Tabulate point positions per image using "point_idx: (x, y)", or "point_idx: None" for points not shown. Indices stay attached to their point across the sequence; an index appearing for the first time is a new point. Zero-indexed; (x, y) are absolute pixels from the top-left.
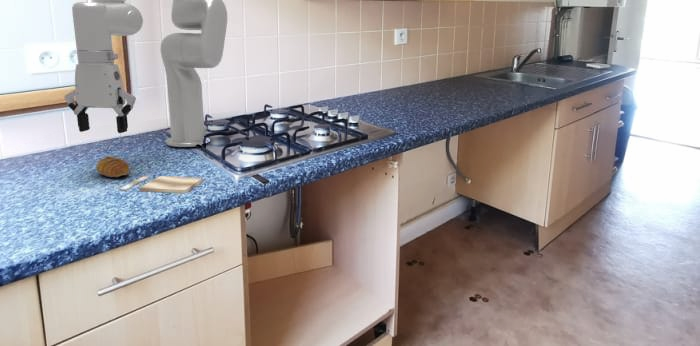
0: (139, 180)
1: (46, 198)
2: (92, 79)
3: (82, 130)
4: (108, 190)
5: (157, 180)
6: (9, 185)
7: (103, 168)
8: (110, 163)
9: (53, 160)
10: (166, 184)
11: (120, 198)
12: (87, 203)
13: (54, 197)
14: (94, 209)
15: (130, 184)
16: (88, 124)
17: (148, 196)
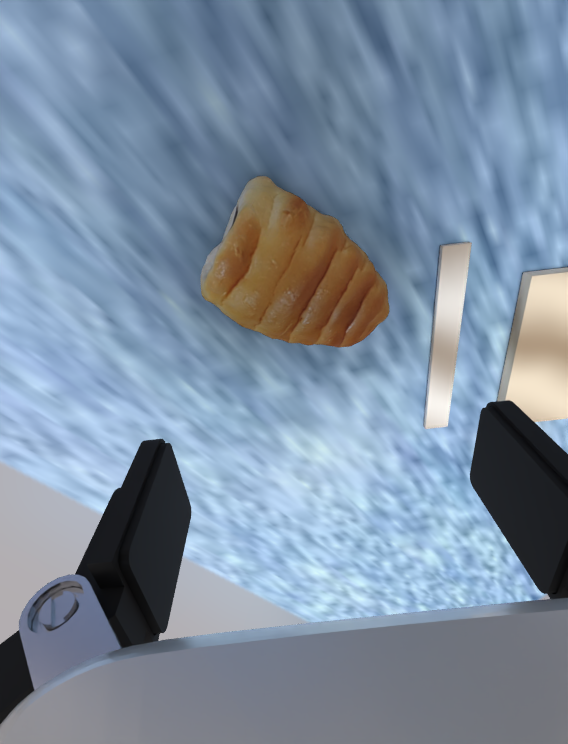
0: (451, 328)
1: (261, 522)
2: None
3: (190, 514)
4: (388, 434)
5: (541, 337)
6: (35, 470)
7: (281, 339)
8: (306, 324)
9: None
10: None
11: (463, 479)
12: (395, 523)
13: (275, 512)
14: (436, 545)
15: (439, 380)
16: (162, 478)
17: None
